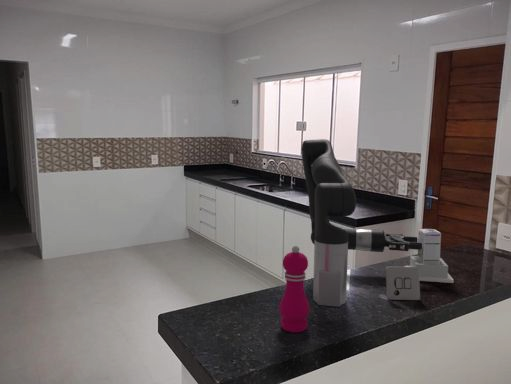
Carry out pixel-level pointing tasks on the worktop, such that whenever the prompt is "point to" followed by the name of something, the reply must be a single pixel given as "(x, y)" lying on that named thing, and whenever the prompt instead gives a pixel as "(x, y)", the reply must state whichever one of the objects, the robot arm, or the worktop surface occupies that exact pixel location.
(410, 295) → the electrical switch
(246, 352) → the worktop surface
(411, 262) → the socket plate
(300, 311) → the pepper mill
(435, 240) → the syrup box
